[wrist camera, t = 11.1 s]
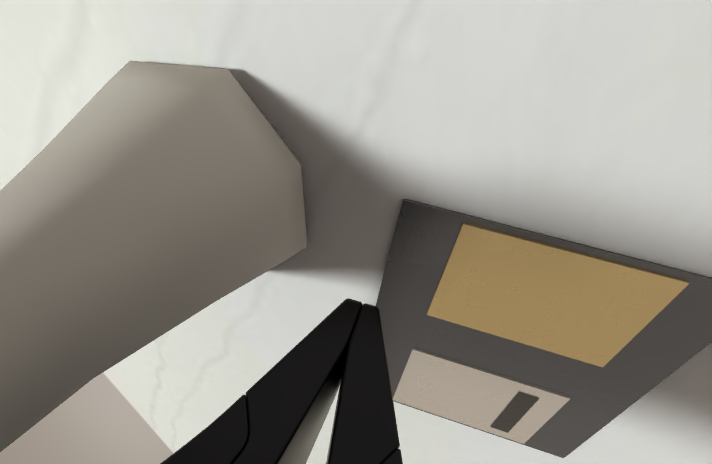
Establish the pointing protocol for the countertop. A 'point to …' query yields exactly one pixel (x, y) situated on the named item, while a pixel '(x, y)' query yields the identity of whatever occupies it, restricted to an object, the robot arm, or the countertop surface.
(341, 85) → the countertop surface
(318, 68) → the countertop surface
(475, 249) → the floppy disk
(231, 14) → the countertop surface
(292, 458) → the robot arm
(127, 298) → the flask
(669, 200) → the countertop surface
